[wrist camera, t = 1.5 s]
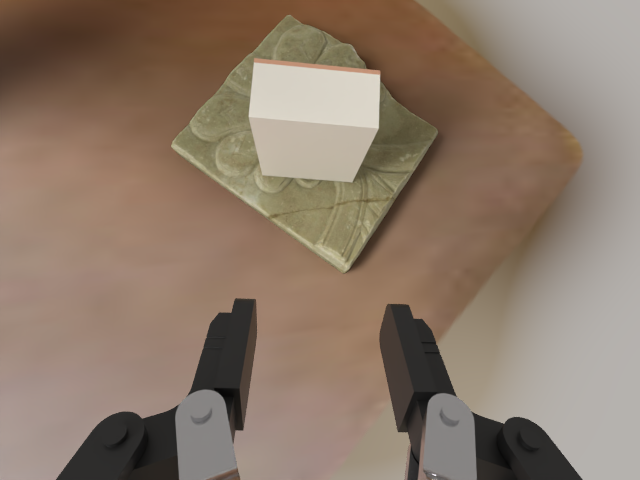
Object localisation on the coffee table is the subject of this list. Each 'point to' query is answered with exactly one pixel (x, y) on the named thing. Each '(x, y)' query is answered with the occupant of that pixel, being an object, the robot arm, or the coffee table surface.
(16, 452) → the coffee table surface
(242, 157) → the decorative tile
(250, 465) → the coffee table surface
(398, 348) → the robot arm
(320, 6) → the coffee table surface
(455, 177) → the coffee table surface
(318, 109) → the white rectangular block
